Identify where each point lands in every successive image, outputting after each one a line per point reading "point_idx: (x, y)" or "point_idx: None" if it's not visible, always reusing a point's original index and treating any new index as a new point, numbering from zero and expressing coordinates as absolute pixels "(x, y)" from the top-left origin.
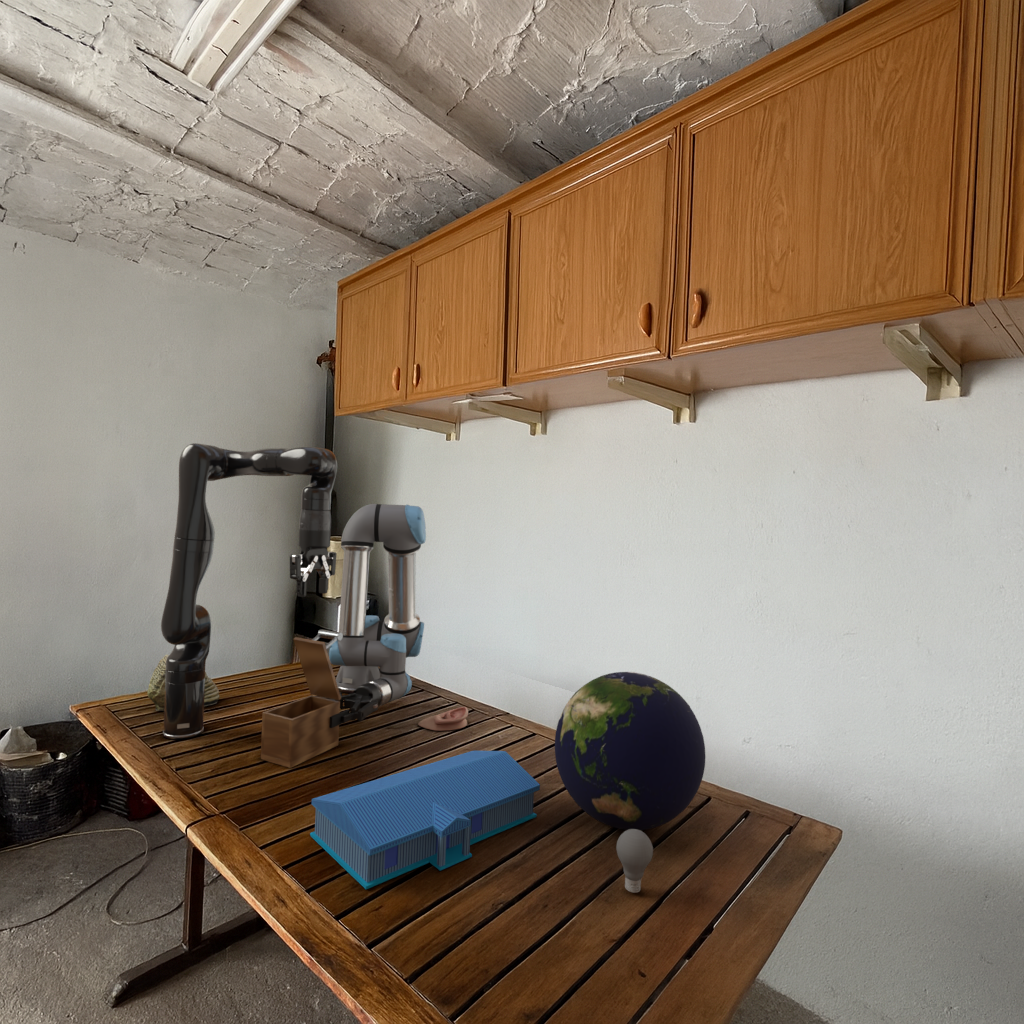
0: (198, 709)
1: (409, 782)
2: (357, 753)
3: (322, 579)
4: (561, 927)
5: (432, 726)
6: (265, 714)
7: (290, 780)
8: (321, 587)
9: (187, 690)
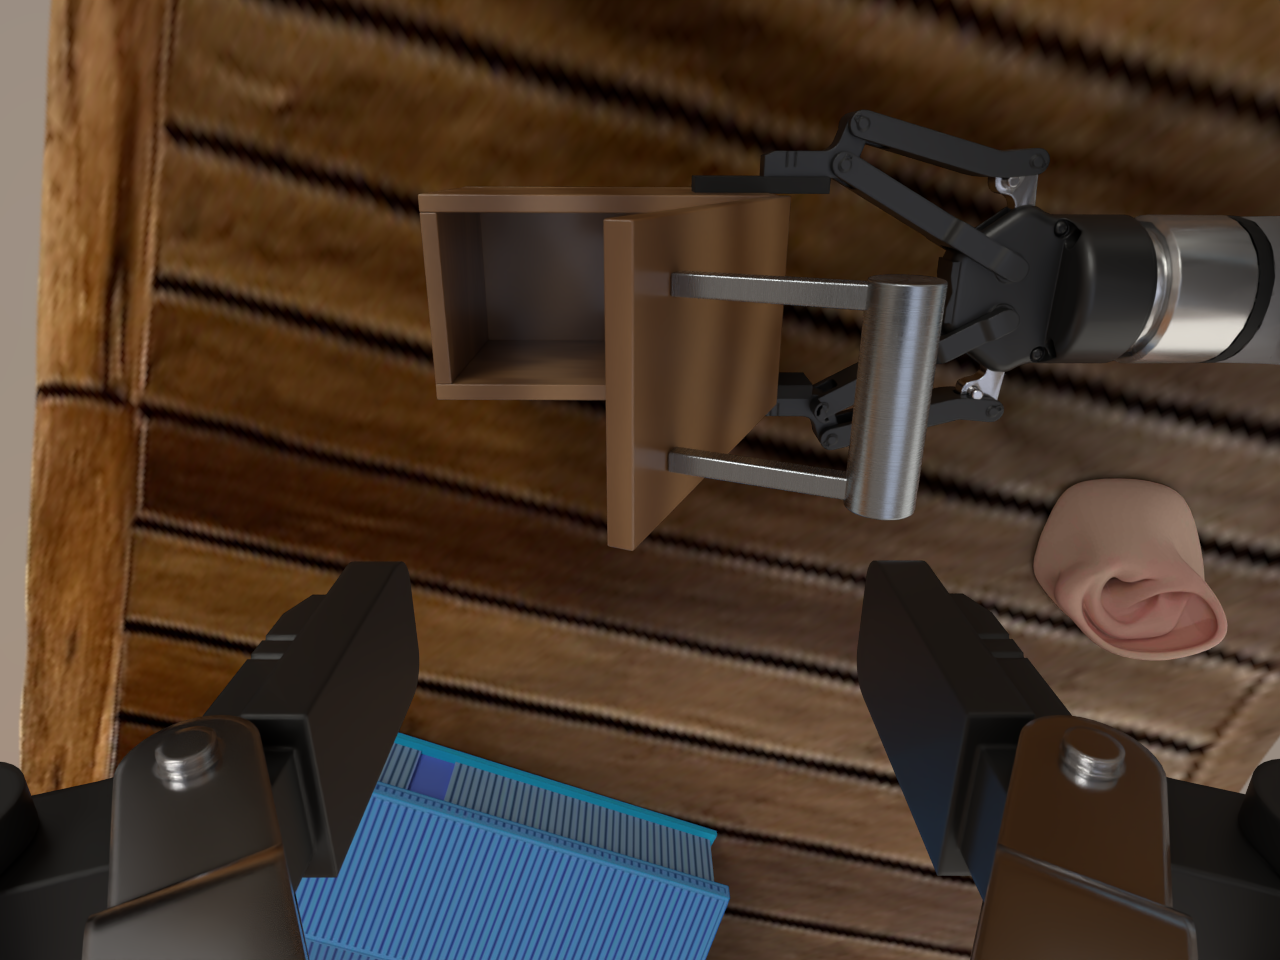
0: None
1: (347, 951)
2: None
3: (945, 787)
4: None
5: (1048, 561)
6: (421, 217)
7: (414, 420)
8: (889, 660)
9: None
